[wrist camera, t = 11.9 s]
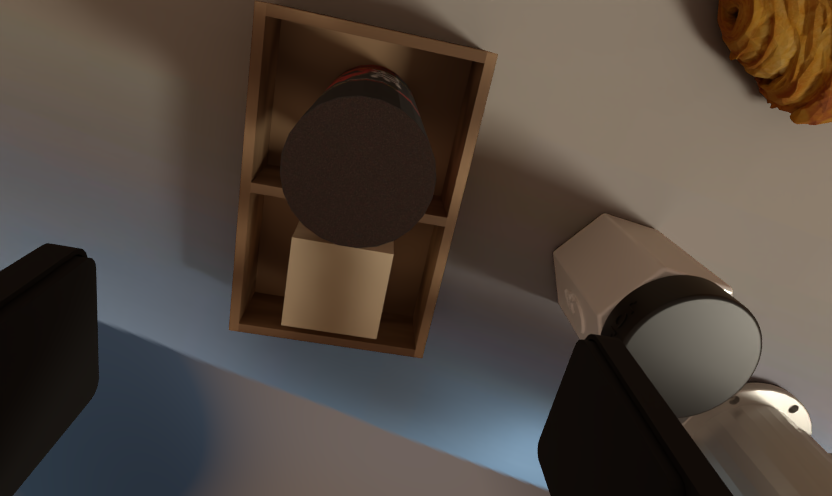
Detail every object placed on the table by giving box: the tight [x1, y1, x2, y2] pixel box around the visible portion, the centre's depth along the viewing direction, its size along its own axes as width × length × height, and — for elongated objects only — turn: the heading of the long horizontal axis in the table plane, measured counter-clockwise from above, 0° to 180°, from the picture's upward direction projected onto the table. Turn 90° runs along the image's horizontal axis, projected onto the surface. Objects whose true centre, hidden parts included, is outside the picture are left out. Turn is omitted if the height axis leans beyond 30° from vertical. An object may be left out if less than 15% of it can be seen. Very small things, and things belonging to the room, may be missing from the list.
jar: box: [553, 213, 762, 418], centre depth 34 cm, size 9×8×12 cm
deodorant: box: [279, 64, 436, 248], centre depth 27 cm, size 6×6×15 cm
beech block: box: [281, 221, 394, 339], centre depth 35 cm, size 6×6×6 cm
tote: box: [229, 1, 498, 358], centre depth 34 cm, size 20×13×5 cm, turn 168°
